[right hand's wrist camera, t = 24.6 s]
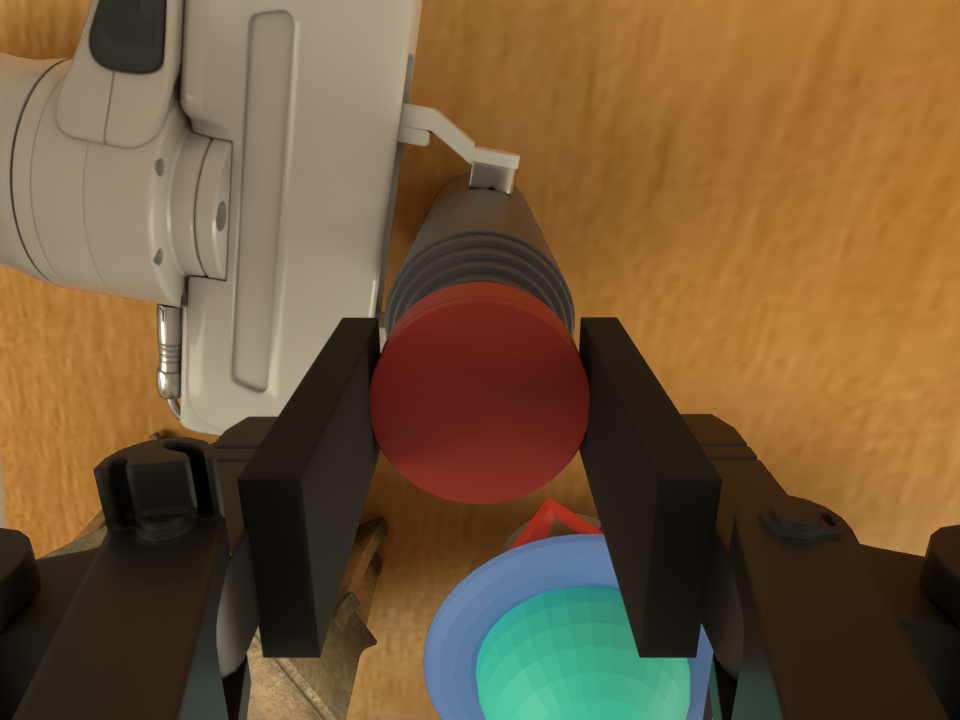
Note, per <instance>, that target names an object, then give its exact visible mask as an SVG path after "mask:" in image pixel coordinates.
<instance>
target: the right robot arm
mask: <svg viewBox="0 0 960 720" xmlns="http://www.w3.org/2000/svg"><path fill="white" fill-rule="evenodd" d="M380 354H381V352H380V335H379V318H342V319H341V321H340V322H339V324H338V325H337V327H336V328H335V330H334V332H333V333H332V335H331V336H330V338H329V339H328V341H327V342H326V344H325V345H324V347H323V348H322V350H321V351H320V353H319V355H318V356H317V358H316V359H315V361H314V362H313V364H312V365H311V367H310V368H309V370H308V371H307V373H306V374H305V376H304V378H303V379H302V381H301V382H300V384H299V385H298V387H297V388H296V390H295V391H294V393H293V394H292V396H291V398H290V399H289V401H288V402H287V404H286V405H285V407H284V408H283V410H282V411H281V413H280V414H279V416H248V417H247V418H245V419H243V420H242V421H240V422H238V423H237V424H235V425H233V426H232V427H230V428H228V429H227V430H225V432H224V433H223V434H222V435H221V437H220V438H219V439H218V440H217V442H216V443H215V444H214V445H213V447H212V446H211V445H210V444H208V443H207V442H205V441H202V440H197V439H193V438H164V439H158V440H152V441H146V442H143V443H140V444H136V445H133V446H130V447H127V448H124V449H122V450H120V451H118V452H116V453H114V454H113V455H111V456H109V457H107V458H105V459H104V460H103V461H102V462H101V463H100V464H99V465H98V466H97V467H96V468H95V469H94V474H95V479H96V483H97V487H98V492H99V496H100V500H101V504H102V509H103V513H104V517H105V522H106V526H107V530H108V531H107V533H106V535H105V537H104V539H103V541H102V543H101V545H100V547H97V548H93V549H89V550H85V551H80V552H74V553H69V554H64V555H59V556H53V557H48V558H43V559H37V560H35V556H34V553H33V549H32V546H31V542H30V539H29V538H28V537H27V536H26V535H24V534H23V533H22V532H20V531H17V530H11V529H4V528H0V720H247V714H248V706H249V698H250V690H251V676H250V670H249V663H248V657H247V651H248V649H249V647H250V644H251V642H252V640H253V637H254V635H255V633H256V630H257V628H258V626H259V632H260V639H261V646H262V653H263V658H320V656H321V653H322V649H323V646H324V642H325V639H326V636H327V632H328V629H329V625H330V622H331V618H332V615H333V611H334V608H335V604H336V601H337V598H338V594H339V591H340V587H341V584H342V580H343V577H344V573H345V570H346V567H347V563H348V560H349V556H350V553H351V549H352V546H353V542H354V539H355V535H356V532H357V529H358V525H359V522H360V518H361V515H362V511H363V508H364V504H365V501H366V497H367V494H368V491H369V487H370V484H371V480H372V477H373V473H374V470H375V466H376V463H377V459H378V456H379V453H380V449H381V448H380V446H379V444H378V443H377V440H376V438H375V435H374V433H373V430H372V422H371V407H370V383H371V378H372V375H373V372H374V369H375V366H376V364H377V361H378V359H379V356H380ZM579 355H580V358H581V360H582V363H583V365H584V368H585V370H586V373H587V377H588V380H589V384H590V400H589V416H588V428H587V431H586V434H585V437H584V439H583V441H582V443H581V445H580V447H579V451H580V454H581V458H582V461H583V464H584V468H585V471H586V475H587V478H588V482H589V485H590V489H591V492H592V495H593V499H594V502H595V506H596V509H597V513H598V516H599V520H600V523H601V527H602V530H603V533H604V537H605V540H606V544H607V547H608V551H609V554H610V558H611V561H612V565H613V568H614V571H615V575H616V578H617V582H618V585H619V589H620V592H621V596H622V599H623V603H624V606H625V609H626V613H627V616H628V620H629V623H630V627H631V630H632V634H633V637H634V641H635V644H636V647H637V651H638V654H639V658H696V656H697V649H698V643H699V636H700V629H701V623H702V626H703V628H704V630H705V633H706V635H707V637H708V640H709V642H710V644H711V647H712V649H713V657H712V663H711V670H710V676H709V682H708V689H707V695H706V701H705V708H704V714H703V720H712V719H713V720H960V525H955V526H948V527H942V528H940V529H938V530H937V531H936V532H934V533H933V534H932V535H931V537H930V540H929V544H928V547H927V551H926V554H925V557H923V556H918V555H912V554H907V553H902V552H896V551H891V550H886V549H880V548H875V547H871V546H867V545H863V544H859V542H858V540H857V538H856V536H855V534H854V532H853V530H852V529H851V528H850V527H849V526H848V524H847V523H846V522H845V521H844V520H843V518H842V517H840V516H838V515H837V514H835V513H834V512H832V511H831V510H829V509H827V508H826V507H824V506H822V505H819V504H816V503H814V502H811V501H809V500H806V499H803V498H798V497H793V496H788V495H787V494H786V492H785V491H784V490H783V489H782V487H781V486H780V485H779V484H778V482H777V481H776V480H775V479H774V477H773V476H772V475H771V474H770V472H769V471H768V470H767V468H766V467H765V466H764V465H763V463H762V462H761V461H760V460H757V456H756V455H755V453H754V452H753V451H752V450H751V448H750V447H747V443H746V442H745V441H744V439H743V438H742V437H741V436H740V434H739V433H738V432H737V431H736V429H735V428H734V427H732V426H730V425H729V424H727V423H725V422H724V421H722V420H720V419H719V418H717V417H715V416H713V415H712V414H679V412H678V411H677V409H676V407H675V406H674V404H673V403H672V401H671V400H670V398H669V397H668V395H667V394H666V392H665V391H664V389H663V387H662V386H661V384H660V383H659V381H658V380H657V378H656V377H655V375H654V374H653V372H652V371H651V369H650V368H649V366H648V364H647V363H646V361H645V360H644V358H643V357H642V355H641V354H640V352H639V351H638V349H637V348H636V346H635V345H634V343H633V341H632V340H631V338H630V337H629V335H628V334H627V332H626V331H625V329H624V328H623V326H622V325H621V323H620V321H619V320H618V318H581V327H580V345H579Z"/></svg>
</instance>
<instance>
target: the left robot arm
mask: <svg viewBox="0 0 960 720" xmlns="http://www.w3.org/2000/svg"><path fill="white" fill-rule="evenodd" d="M422 2H423V0H92V1H91V5H90V8H89V11H88V14H87V18H86V21H85V24H84V27H83V30H82V33H81V36H80V39H79V42H78V45H77V48H76V51H75V54H74V56H73V58H55V59H28V58H22V57H17V56H13V55H9V54H6V53H3V52H1V51H0V267H3V268H9V269H13V270H17V271H20V272H22V273H24V274H26V275H28V276H30V277H32V278H35V279H37V280H39V281H42V282H44V283H47V284H50V285H53V286H57V287H63V288H69V289H74V290H80V291H87V292H93V293H99V294H105V295H111V296H117V297H122V298H127V299H133V300H139V301H145V302H151V303H157V340H158V347H159V358H160V359H159V367H158V369H157V389H158V393H159V396H160V397H162V398H164V399H167V403H168V406H169V408H170V410H171V411H172V413H173V414H174V416H175V417H176V418H177V419H178V420H179V421H180V422H181V424H182V425H183V426H184V427H186V428H187V429H190V430H192V431H196V432H201V433H207V434H213V435H219V436H221V435H222V434H223V433H224V432H225V430H227V429H228V428H230V427H232V426H233V425H235V424H237V423H238V422H240V421H242V420H243V419H245V418H247V417H248V416H279V414H280V413H281V411H282V410H283V408H284V407H285V405H286V404H287V402H288V401H289V399H290V398H291V396H292V394H293V393H294V391H295V390H296V388H297V387H298V385H299V384H300V382H301V381H302V379H303V378H304V376H305V374H306V373H307V371H308V370H309V368H310V367H311V365H312V364H313V362H314V361H315V359H316V358H317V356H318V355H319V353H320V351H321V350H322V348H323V347H324V345H325V344H326V342H327V341H328V339H329V338H330V336H331V335H332V333H333V332H334V330H335V328H336V327H337V325H338V324H339V322H340V321H341V319H342V318H379V335H380V352H381V351H382V349H383V346H384V344H385V341H386V332H385V312H381V311H382V304H383V296H384V289H385V281H386V274H387V266H388V259H389V251H390V243H391V236H392V228H393V221H394V213H395V206H396V198H397V191H398V183H399V176H400V168H401V161H402V153H403V145H404V143H407V144H413V145H418V146H424V147H425V146H427V145H428V144H430V143H431V142H432V139H433V133H434V134H435V135H436V136H438V137H439V138H440V139H441V140H442V141H443V142H445V143H446V144H447V145H448V146H449V147H450V148H452V149H453V150H454V151H455V152H456V153H457V154H459V155H460V156H461V157H462V158H463V159H465V160H466V161H467V162H468V163H469V164H470V165H471V163H472V167H471V174H470V180H469V187H474V188H479V189H488V188H490V187H493V188H494V189H495V190H496V191H498V192H501V193H507V194H513V190H514V185H515V180H516V175H517V171H518V165H519V160H520V155H519V154H516V153H512V152H508V151H503V150H497V149H492V148H487V147H481V146H476V145H475V141H473V140H472V139H471V138H470V137H469V136H468V135H467V134H466V133H464V132H463V131H462V130H461V129H460V128H459V127H458V126H456V125H455V124H454V123H453V122H452V121H451V120H450V119H448V118H447V117H446V116H445V115H444V114H443V113H442V112H440V111H439V110H438V109H436V108H430V107H425V106H420V105H415V104H410V103H409V100H410V93H411V85H412V78H413V70H414V63H415V55H416V48H417V40H418V32H419V25H420V17H421V10H422ZM180 397H181V405H180V406H179V404H178V402H177V398H180Z"/></svg>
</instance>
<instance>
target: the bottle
mask: <svg viewBox="0 0 960 720" xmlns="http://www.w3.org/2000/svg"><path fill="white" fill-rule="evenodd" d="M470 174H471V173H466V174H463V175H460V176H458V177H456V178H454V179H453V180H451V181H450V182H448V183H447V184H446V185H445V186H444V187H443V188H442V189H441V190H440V192H439V193H438V194H437V196H436V198H435V199H434V201H433V204H432V206H431V208H430V210H429V212H428V214H427V216H426V218H425V220H424V222H423V224H422V226H421V228H420V230H419V232H418V234H417V236H416V238H415V240H414V242H413V244H412V246H411V248H410V250H409V252H408V254H407V256H406V258H405V260H404V262H403V264H402V266H401V268H400V270H399V272H398V274H397V276H396V278H395V280H394V283H393V285H392V287H391V289H390V292H389V295H388V299H387V303H386V309H385V332H386V339H387V337H388V335H389V334H390V332H391V330H392V328H393V327H394V325H395V324H396V323H397V321H398V320H399V318H400V317H401V316H402V315H403V314H404V313H405V312H406V311H407V310H408V309H409V308H410V307H412V306H413V305H414V304H415V303H417V302H418V301H419V300H421V299H422V298H424V297H426V296H427V295H429V294H431V293H433V292H435V291H438V290H440V289H442V288H446V287H449V286H452V285H456V284H462V283H468V282H490V283H499V284H503V285H507V286H511V287H514V288H517V289H519V290H522V291H525V292H526V293H528V294H530V295H532V296H534V297H536V298H537V299H539V300H540V301H541V302H543V303H544V304H546V305H547V306H548V307H549V308H550V309H551V310H552V311H553V312H554V313H556V314H557V316H558V317H559V318H560V319H561V321H562V322H563V323H564V324H565V326H566V327H567V329H568V331H569V332H570V334H571V336H572V338H573V336H574V329H575V312H574V306H573V300H572V297H571V294H570V290H569V288H568V286H567V284H566V281H565V279H564V277H563V275H562V273H561V271H560V269H559V267H558V265H557V263H556V261H555V259H554V257H553V255H552V253H551V251H550V249H549V247H548V245H547V243H546V241H545V239H544V237H543V235H542V233H541V231H540V229H539V227H538V225H537V223H536V221H535V219H534V217H533V215H532V212H531V210H530V208H529V206H528V204H527V202H526V200H525V198H524V197H523V195H522V194H521V192H520V191H519V190H518V189H517V187H516V186H514V190H513V194H507V193H501V192H498V191H496V190H495V189H494V188H493V187H490V188H488V189H479V188H474V187H469V180H470Z"/></svg>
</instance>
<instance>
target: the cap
mask: <svg viewBox="0 0 960 720" xmlns="http://www.w3.org/2000/svg"><path fill="white" fill-rule="evenodd" d="M589 400H590V384H589V380H588V377H587V373H586V370H585V368H584V365H583V363H582V360H581V358H580V355H579V353H578V350H577V348H576V345H575V343H574V341H573V338H572V336H571V334H570V332H569V331H568V329H567V327H566V326H565V324H564V323H563V322H562V321H561V319H560V318H559V317H558V316H557V314H556V313H554V312H553V311H552V310H551V309H550V308H549V307H548V306H547V305H546V304H544V303H543V302H541V301H540V300H539V299H537V298H536V297H534V296H532V295H530V294H528V293H526V292H525V291H522V290H519V289H517V288H514V287H511V286H507V285H503V284H499V283H490V282H468V283H462V284H456V285H452V286H449V287H446V288H442V289H440V290H438V291H435V292H433V293H431V294H429V295H427V296H426V297H424V298H422V299H421V300H419V301H418V302H417V303H415V304H414V305H413V306H412V307H410V308H409V309H408V310H407V311H406V312H405V313H404V314H403V315H402V316H401V317H400V318H399V320H398V321H397V323H396V324H395V325H394V327H393V328H392V330H391V332H390V334H389V335H388V337H387V339H386V341H385V344H384V346H383V349H382V351H381V354H380V356H379V359H378V361H377V364H376V366H375V369H374V372H373V375H372V378H371V383H370V407H371V422H372V430H373V433H374V435H375V438H376V440H377V443H378V444H379V446H380V448H381V450H382V452H383V453H384V455H385V456H386V458H387V459H388V460H389V462H390V463H391V464H392V465H393V467H394V468H395V469H396V470H397V471H398V472H399V473H400V474H401V475H402V476H404V477H405V478H406V479H408V480H409V481H410V482H411V483H413V484H414V485H416V486H418V487H419V488H421V489H422V490H424V491H426V492H429V493H431V494H433V495H435V496H438V497H441V498H444V499H447V500H451V501H456V502H461V503H470V504H491V503H498V502H504V501H508V500H512V499H516V498H519V497H521V496H524V495H527V494H529V493H531V492H533V491H535V490H537V489H539V488H541V487H542V486H544V485H545V484H547V483H548V482H550V481H551V480H552V479H553V478H555V477H556V476H557V475H558V474H559V473H560V472H561V471H562V470H563V469H564V468H565V467H566V466H567V465H568V464H569V462H570V461H571V460H572V458H573V457H574V455H575V454H576V452H577V451H578V449H579V447H580V445H581V443H582V441H583V439H584V437H585V434H586V431H587V428H588V416H589Z"/></svg>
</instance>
